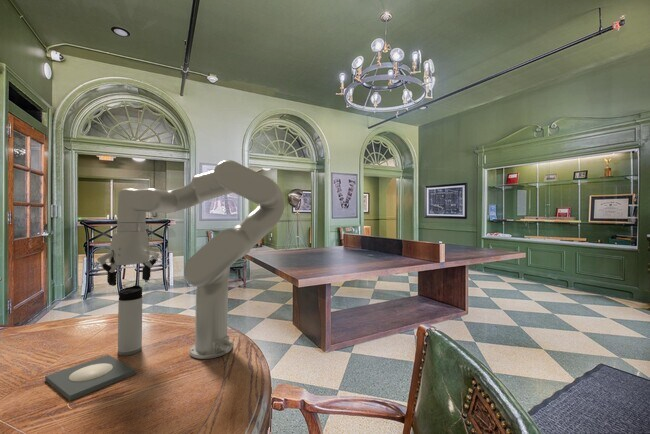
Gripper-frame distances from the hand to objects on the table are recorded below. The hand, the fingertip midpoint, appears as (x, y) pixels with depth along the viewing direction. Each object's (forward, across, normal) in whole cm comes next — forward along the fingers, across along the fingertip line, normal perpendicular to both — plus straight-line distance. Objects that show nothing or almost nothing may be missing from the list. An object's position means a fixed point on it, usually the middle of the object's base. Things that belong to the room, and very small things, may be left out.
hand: (129, 282), depth 92 cm
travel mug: (+22, 0, +1) cm, 22 cm away
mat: (+22, +12, +9) cm, 26 cm away
